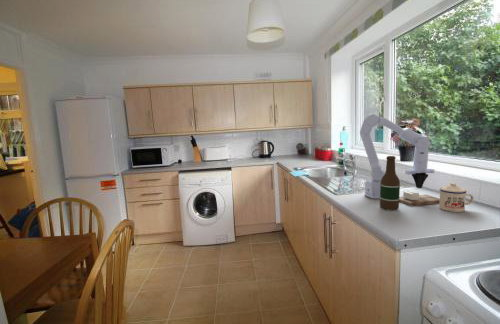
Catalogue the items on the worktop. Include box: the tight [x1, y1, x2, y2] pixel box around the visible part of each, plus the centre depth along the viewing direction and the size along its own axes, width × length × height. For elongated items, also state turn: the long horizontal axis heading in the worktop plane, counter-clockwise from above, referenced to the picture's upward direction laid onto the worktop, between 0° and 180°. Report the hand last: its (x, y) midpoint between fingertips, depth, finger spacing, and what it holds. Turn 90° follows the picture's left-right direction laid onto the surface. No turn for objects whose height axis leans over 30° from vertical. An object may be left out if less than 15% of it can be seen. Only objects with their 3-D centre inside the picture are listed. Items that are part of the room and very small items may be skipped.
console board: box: [399, 194, 440, 207], centre depth 121 cm, size 18×10×2 cm, turn 99°
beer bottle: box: [379, 155, 401, 211], centre depth 112 cm, size 8×8×24 cm
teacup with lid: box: [438, 182, 475, 213], centre depth 107 cm, size 12×9×12 cm
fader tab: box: [402, 190, 420, 200], centre depth 120 cm, size 4×5×3 cm
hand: (418, 187), depth 124 cm, fingers closed
